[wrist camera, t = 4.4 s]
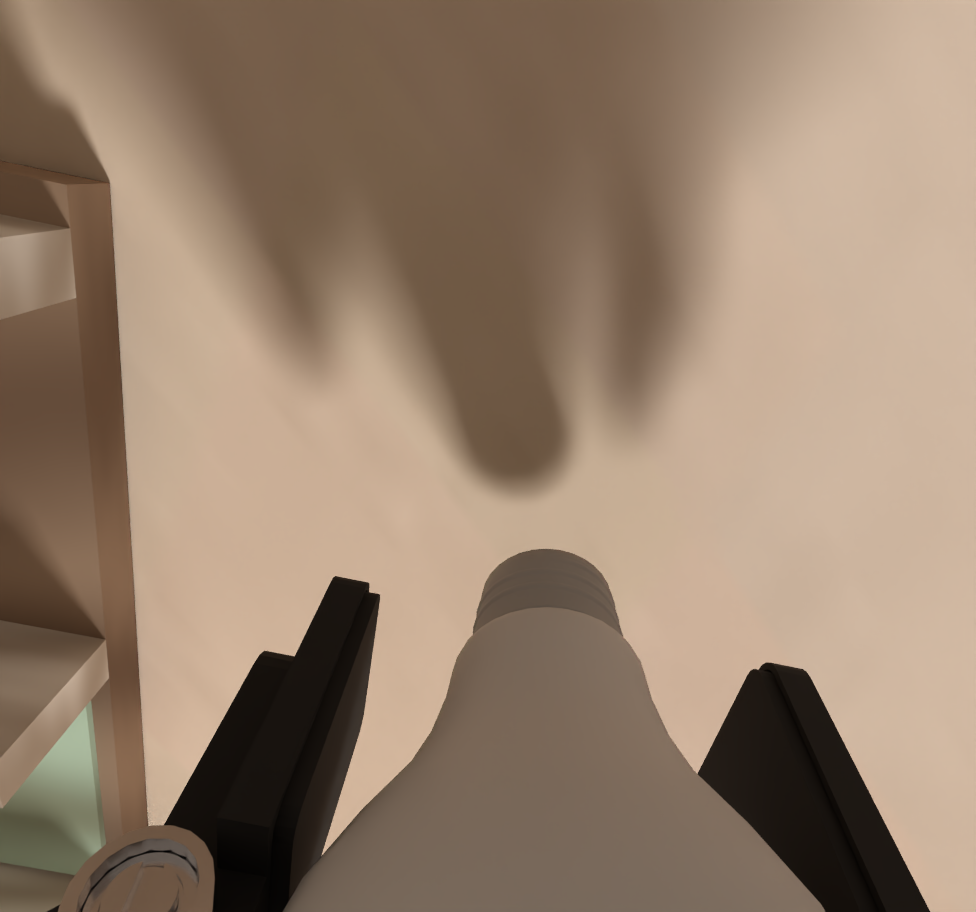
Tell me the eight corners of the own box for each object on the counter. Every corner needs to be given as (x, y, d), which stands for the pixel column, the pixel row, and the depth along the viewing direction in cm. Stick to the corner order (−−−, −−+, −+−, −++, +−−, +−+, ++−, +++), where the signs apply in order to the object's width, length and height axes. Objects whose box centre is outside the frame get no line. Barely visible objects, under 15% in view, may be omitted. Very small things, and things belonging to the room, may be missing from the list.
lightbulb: (582, 726, 15) (674, 1922, 5) (348, 608, 14) (-155, 1820, 4) (765, 544, 12) (1740, 2235, 2) (496, 381, 11) (170, 2206, 1)
